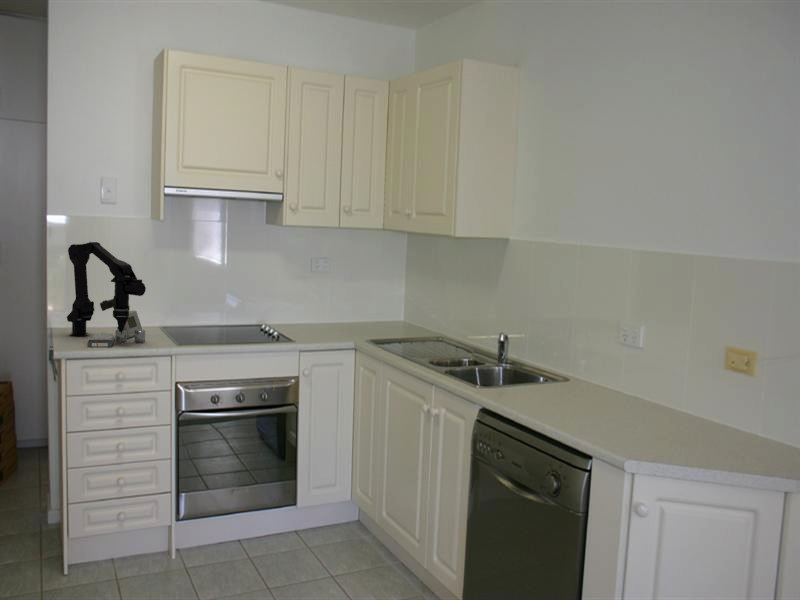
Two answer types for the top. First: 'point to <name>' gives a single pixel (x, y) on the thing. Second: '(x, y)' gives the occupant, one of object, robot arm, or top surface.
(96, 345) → the scale base
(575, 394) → the top surface
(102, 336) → the platform
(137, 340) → the cylinder
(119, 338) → the cylinder
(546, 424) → the top surface
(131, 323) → the digital clock
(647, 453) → the top surface
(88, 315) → the robot arm
